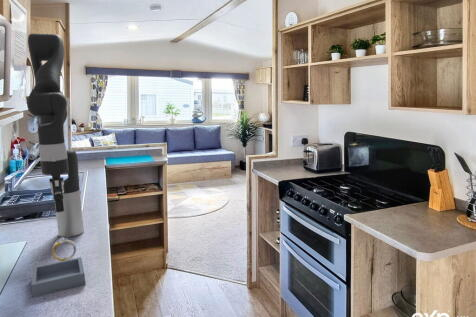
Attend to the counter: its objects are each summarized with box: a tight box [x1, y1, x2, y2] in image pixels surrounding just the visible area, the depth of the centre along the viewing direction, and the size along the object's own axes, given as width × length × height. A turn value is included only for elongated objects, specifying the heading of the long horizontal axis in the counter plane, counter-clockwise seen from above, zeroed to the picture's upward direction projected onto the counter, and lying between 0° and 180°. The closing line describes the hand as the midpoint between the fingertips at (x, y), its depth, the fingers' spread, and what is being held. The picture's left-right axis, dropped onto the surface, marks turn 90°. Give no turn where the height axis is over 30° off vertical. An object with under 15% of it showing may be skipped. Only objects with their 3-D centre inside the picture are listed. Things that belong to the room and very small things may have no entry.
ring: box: [51, 237, 77, 262], centre depth 115 cm, size 7×3×8 cm, turn 110°
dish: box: [30, 256, 86, 298], centre depth 102 cm, size 12×13×4 cm
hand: (59, 208), depth 113 cm, fingers open, 8 cm apart
